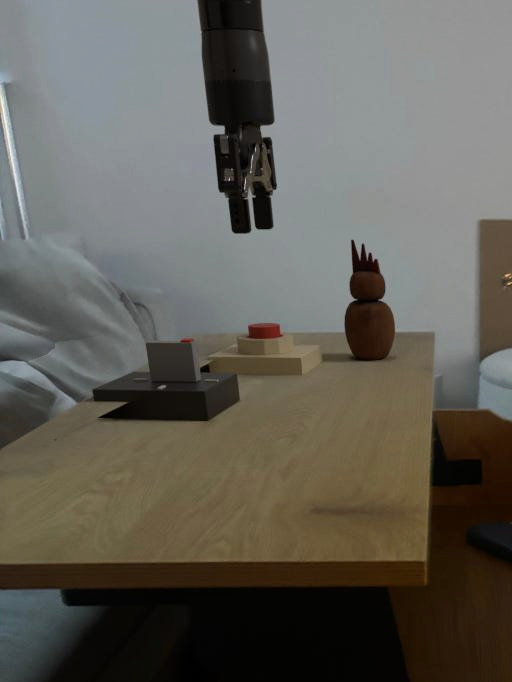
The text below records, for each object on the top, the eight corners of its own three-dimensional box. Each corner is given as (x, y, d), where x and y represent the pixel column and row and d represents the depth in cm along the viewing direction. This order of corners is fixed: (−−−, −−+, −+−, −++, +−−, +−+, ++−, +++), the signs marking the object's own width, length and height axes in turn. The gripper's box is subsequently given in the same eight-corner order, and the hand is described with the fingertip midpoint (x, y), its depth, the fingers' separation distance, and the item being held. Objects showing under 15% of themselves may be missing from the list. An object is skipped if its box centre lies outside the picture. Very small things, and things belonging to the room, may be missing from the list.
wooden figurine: (338, 358, 134) (330, 240, 128) (370, 352, 138) (364, 237, 132) (371, 364, 130) (365, 242, 124) (403, 358, 134) (399, 239, 127)
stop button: (245, 341, 125) (243, 327, 124) (254, 336, 129) (253, 322, 128) (275, 341, 125) (274, 327, 124) (284, 337, 128) (283, 323, 127)
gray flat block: (150, 381, 104) (144, 340, 102) (156, 378, 105) (150, 338, 104) (196, 382, 104) (191, 340, 102) (201, 379, 105) (196, 338, 103)
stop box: (209, 374, 124) (205, 341, 123) (236, 360, 133) (232, 330, 132) (302, 375, 123) (299, 342, 121) (322, 361, 132) (320, 330, 130)
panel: (96, 418, 102) (91, 387, 101) (137, 398, 111) (132, 370, 110) (208, 420, 101) (204, 389, 100) (240, 400, 110) (237, 371, 109)
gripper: (249, 73, 106) (265, 235, 113) (287, 82, 119) (300, 227, 126) (182, 74, 107) (202, 235, 114) (227, 84, 120) (243, 228, 127)
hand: (253, 231), depth 120 cm, fingers open, 8 cm apart
